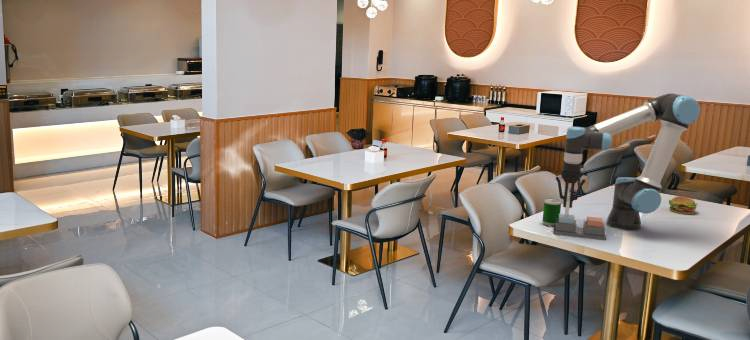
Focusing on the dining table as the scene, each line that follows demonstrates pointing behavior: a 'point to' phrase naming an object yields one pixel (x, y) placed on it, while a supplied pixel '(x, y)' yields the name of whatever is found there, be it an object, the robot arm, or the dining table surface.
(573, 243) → the dining table surface
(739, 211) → the dining table surface
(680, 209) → the food
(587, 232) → the key console
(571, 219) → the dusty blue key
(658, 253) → the dining table surface
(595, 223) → the brick red key
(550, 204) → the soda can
